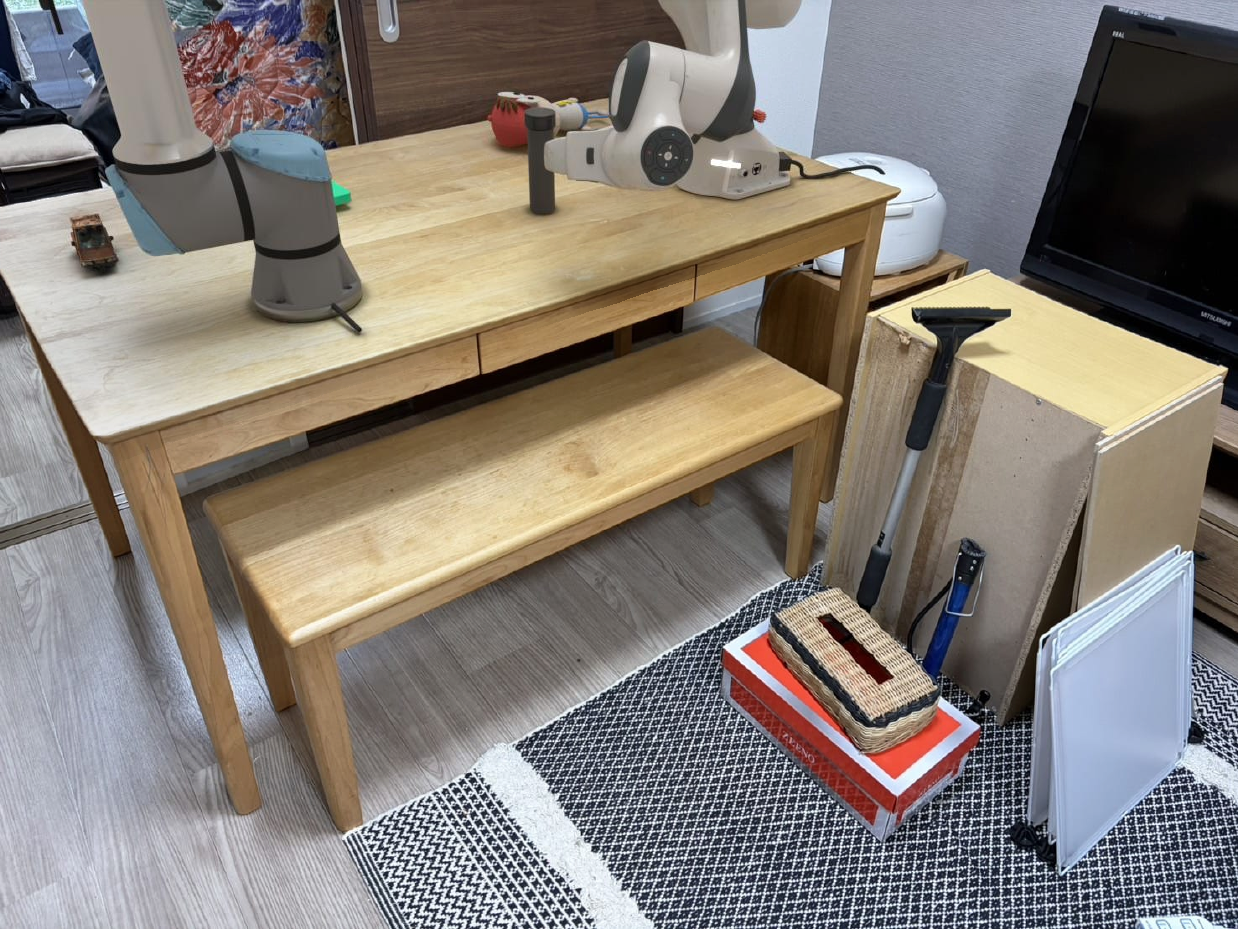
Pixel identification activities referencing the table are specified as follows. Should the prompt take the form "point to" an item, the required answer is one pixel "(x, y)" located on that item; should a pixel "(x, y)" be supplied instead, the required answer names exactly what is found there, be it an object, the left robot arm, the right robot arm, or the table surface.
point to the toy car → (92, 242)
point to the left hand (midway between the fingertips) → (108, 29)
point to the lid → (540, 118)
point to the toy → (513, 105)
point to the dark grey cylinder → (540, 173)
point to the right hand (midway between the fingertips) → (600, 156)
